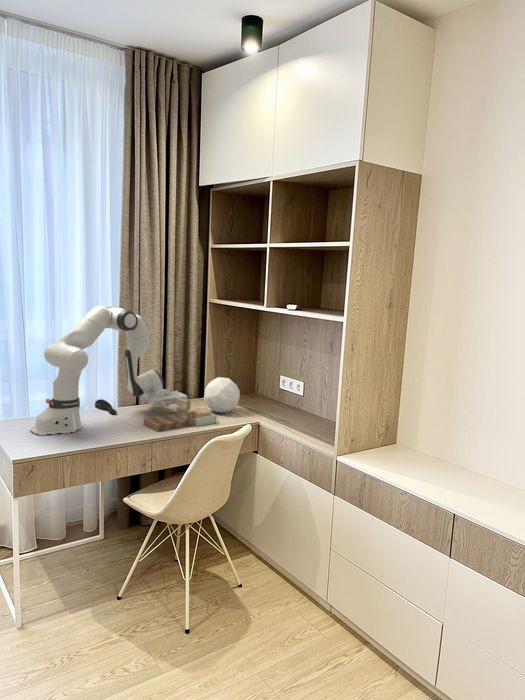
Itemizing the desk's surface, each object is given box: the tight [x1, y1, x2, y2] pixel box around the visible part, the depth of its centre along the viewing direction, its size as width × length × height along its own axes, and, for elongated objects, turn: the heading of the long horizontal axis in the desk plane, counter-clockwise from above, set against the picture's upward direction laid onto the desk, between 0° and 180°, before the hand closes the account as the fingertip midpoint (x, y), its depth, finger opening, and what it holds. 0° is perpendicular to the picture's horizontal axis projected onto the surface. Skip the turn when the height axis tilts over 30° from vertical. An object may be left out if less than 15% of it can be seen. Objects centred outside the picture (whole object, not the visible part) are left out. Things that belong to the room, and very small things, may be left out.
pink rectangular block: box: [190, 408, 201, 419], centre depth 273 cm, size 5×4×7 cm
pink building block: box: [194, 409, 212, 419], centre depth 271 cm, size 5×4×7 cm
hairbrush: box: [94, 398, 118, 416], centre depth 286 cm, size 8×4×25 cm
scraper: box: [176, 398, 192, 419], centre depth 267 cm, size 3×8×9 cm, turn 39°
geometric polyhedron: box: [203, 376, 241, 414], centre depth 291 cm, size 19×20×20 cm
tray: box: [190, 407, 217, 427], centre depth 273 cm, size 12×17×4 cm
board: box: [142, 413, 195, 432], centre depth 263 cm, size 20×14×3 cm
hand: (175, 403), depth 272 cm, fingers open, 8 cm apart
